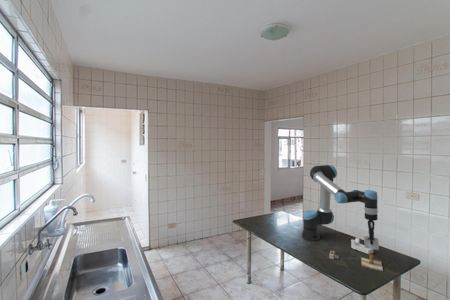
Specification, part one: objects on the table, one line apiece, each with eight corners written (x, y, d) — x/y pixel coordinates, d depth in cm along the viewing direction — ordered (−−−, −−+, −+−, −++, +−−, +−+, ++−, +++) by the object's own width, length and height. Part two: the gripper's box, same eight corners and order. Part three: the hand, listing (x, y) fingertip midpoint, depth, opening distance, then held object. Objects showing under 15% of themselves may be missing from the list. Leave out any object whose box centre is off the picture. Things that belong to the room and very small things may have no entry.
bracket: (351, 248, 188) (351, 239, 187) (356, 246, 191) (356, 237, 191) (368, 255, 177) (368, 245, 176) (373, 252, 180) (373, 243, 180)
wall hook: (333, 256, 176) (333, 254, 176) (338, 257, 175) (338, 255, 174) (332, 257, 174) (332, 255, 174) (338, 258, 172) (338, 256, 172)
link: (364, 243, 168) (364, 236, 168) (377, 245, 164) (377, 238, 164) (364, 247, 161) (364, 240, 161) (378, 249, 157) (378, 242, 157)
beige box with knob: (330, 254, 179) (330, 249, 179) (334, 255, 178) (334, 250, 177) (329, 258, 174) (329, 253, 174) (333, 259, 172) (333, 254, 172)
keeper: (361, 258, 172) (361, 249, 171) (381, 262, 166) (381, 252, 166) (361, 266, 161) (361, 256, 161) (382, 271, 155) (382, 260, 155)
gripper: (364, 208, 173) (364, 239, 174) (365, 217, 155) (365, 251, 156) (376, 209, 169) (376, 241, 170) (378, 218, 151) (378, 253, 152)
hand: (371, 245), depth 163 cm, fingers closed on link, 8 cm apart
